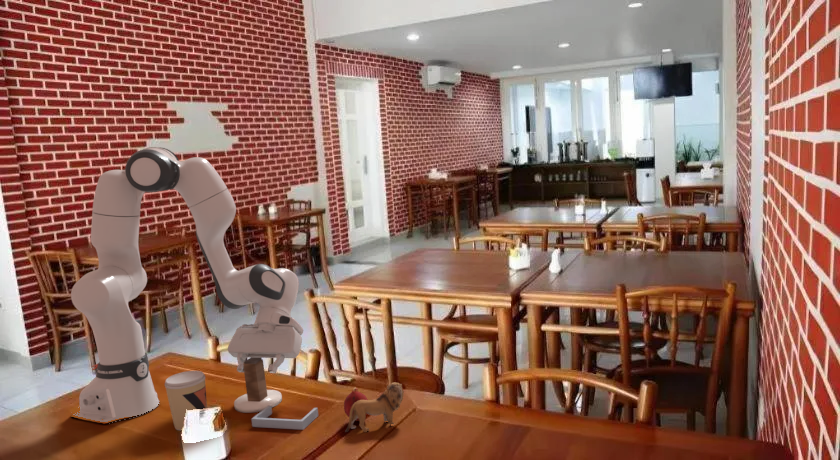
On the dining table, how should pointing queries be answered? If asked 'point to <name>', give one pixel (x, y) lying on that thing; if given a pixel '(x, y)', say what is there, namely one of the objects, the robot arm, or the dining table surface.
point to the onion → (353, 401)
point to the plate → (254, 406)
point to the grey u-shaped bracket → (282, 420)
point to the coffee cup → (185, 394)
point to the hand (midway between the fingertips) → (256, 371)
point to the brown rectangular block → (255, 379)
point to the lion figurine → (377, 406)
